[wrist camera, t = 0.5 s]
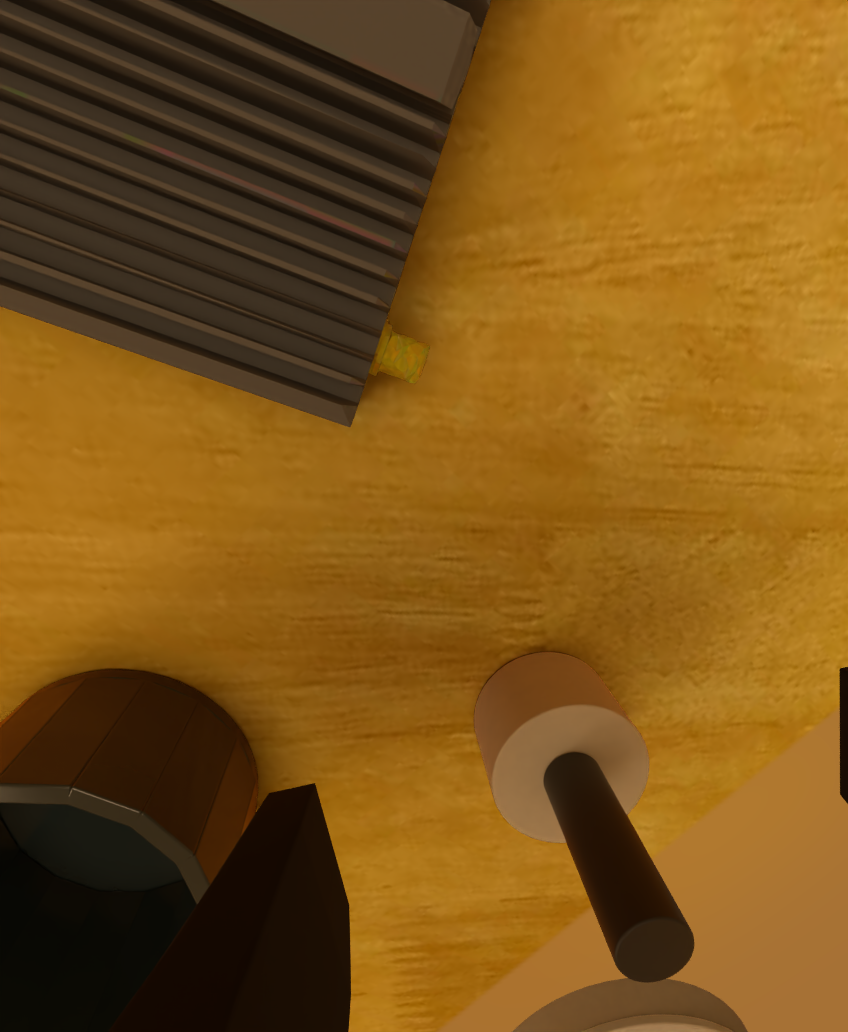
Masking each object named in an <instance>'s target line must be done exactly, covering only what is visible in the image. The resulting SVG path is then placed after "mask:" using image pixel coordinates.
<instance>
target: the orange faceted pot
mask: <svg viewBox="0 0 848 1032" xmlns="http://www.w3.org/2000/svg"><path fill="white" fill-rule="evenodd" d="M257 798H258V774H257V769H256V764H255V760H254V757H253V755H252V752H251V749H250V747H249V745H248V743H247V741H246V739H245V737H244V735H243V733H242V732H241V731H240V729H239V728H238V727H237V725H236V724H235V722H234V721H233V720H232V719H231V718H230V717H229V716H228V715H227V714H226V713H225V712H224V711H223V709H221V708H220V707H219V706H218V705H216V704H215V703H214V702H213V701H212V700H210V699H209V698H208V697H206V696H204V695H203V694H201V693H200V692H198V691H196V690H195V689H193V688H191V687H189V686H187V685H184V684H182V683H180V682H178V681H175V680H172V679H169V678H166V677H164V676H160V675H156V674H151V673H147V672H142V671H132V670H101V671H93V672H86V673H82V674H78V675H74V676H70V677H67V678H64V679H62V680H59V681H57V682H54V683H52V684H50V685H48V686H46V687H44V688H42V689H41V690H39V691H37V692H36V693H34V694H33V695H32V696H30V697H29V698H27V699H26V700H25V701H23V702H22V703H21V704H20V705H19V706H18V707H17V708H16V709H15V710H14V711H13V712H12V713H11V714H10V715H8V716H7V717H6V718H5V719H4V720H2V721H1V722H0V1032H108V1031H109V1030H110V1028H111V1027H112V1026H113V1024H114V1023H115V1021H116V1020H117V1019H118V1017H119V1016H120V1015H121V1013H122V1012H123V1010H124V1009H125V1008H126V1006H127V1005H128V1003H129V1002H130V1001H131V999H132V998H133V997H134V995H135V994H136V992H137V991H138V990H139V988H140V987H141V986H142V984H143V983H144V981H145V980H146V979H147V977H148V976H149V974H150V973H151V972H152V970H153V969H154V967H155V966H156V965H157V963H158V962H159V960H160V959H161V957H162V956H163V954H164V953H165V952H166V950H167V949H168V947H169V946H170V944H171V943H172V941H173V940H174V938H175V937H176V935H177V934H178V932H179V931H180V929H181V928H182V926H183V925H184V923H185V922H186V920H187V919H188V917H189V916H190V914H191V913H192V911H193V910H194V908H195V907H196V905H197V904H198V902H199V901H200V899H201V898H202V896H203V895H204V893H205V892H206V890H207V889H208V887H209V886H210V884H211V883H212V881H213V879H214V878H215V876H216V875H217V873H218V872H219V870H220V869H221V867H222V865H223V864H224V862H225V861H226V859H227V858H228V856H229V855H230V853H231V851H232V850H233V848H234V847H235V845H236V844H237V842H238V840H239V839H240V837H241V836H242V834H243V832H244V831H245V829H246V828H247V826H248V825H249V823H250V821H251V820H252V818H253V817H254V815H255V809H256V805H257Z"/></svg>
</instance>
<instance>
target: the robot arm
mask: <svg viewBox="0 0 848 1032" xmlns="http://www.w3.org/2000/svg"><path fill="white" fill-rule="evenodd" d="M840 795H841V796H842V797H843V798H844V800H845V801H846V802H847V803H848V667H845V668H840ZM350 1000H351V964H350V920H349V903H348V899H347V896H346V892H345V889H344V885H343V882H342V878H341V874H340V871H339V867H338V864H337V860H336V857H335V853H334V849H333V846H332V842H331V839H330V835H329V832H328V828H327V825H326V821H325V817H324V814H323V810H322V807H321V803H320V800H319V796H318V793H317V789H316V785H315V783H314V784H309V785H305V786H300V787H295V788H291V789H286V790H282V791H277V792H272V793H269V794H268V796H267V797H266V799H265V800H264V802H263V803H262V805H261V806H260V808H259V809H258V811H257V812H256V814H255V815H254V817H253V818H252V820H251V821H250V823H249V825H248V826H247V828H246V829H245V831H244V832H243V834H242V836H241V837H240V839H239V840H238V842H237V844H236V845H235V847H234V848H233V850H232V851H231V853H230V855H229V856H228V858H227V859H226V861H225V862H224V864H223V865H222V867H221V869H220V870H219V872H218V873H217V875H216V876H215V878H214V879H213V881H212V883H211V884H210V886H209V887H208V889H207V890H206V892H205V893H204V895H203V896H202V898H201V899H200V901H199V902H198V904H197V905H196V907H195V908H194V910H193V911H192V913H191V914H190V916H189V917H188V919H187V920H186V922H185V923H184V925H183V926H182V928H181V929H180V931H179V932H178V934H177V935H176V937H175V938H174V940H173V941H172V943H171V944H170V946H169V947H168V949H167V950H166V952H165V953H164V954H163V956H162V957H161V959H160V960H159V962H158V963H157V965H156V966H155V967H154V969H153V970H152V972H151V973H150V974H149V976H148V977H147V979H146V980H145V981H144V983H143V984H142V986H141V987H140V988H139V990H138V991H137V992H136V994H135V995H134V997H133V998H132V999H131V1001H130V1002H129V1003H128V1005H127V1006H126V1008H125V1009H124V1010H123V1012H122V1013H121V1015H120V1016H119V1017H118V1019H117V1020H116V1021H115V1023H114V1024H113V1026H112V1027H111V1028H110V1030H109V1031H108V1032H348V1029H349V1015H350Z"/></svg>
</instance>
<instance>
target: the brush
mask: <svg viewBox="0 0 848 1032" xmlns="http://www.w3.org/2000/svg"><path fill="white" fill-rule="evenodd" d="M474 728H475V732H476V736H477V740H478V743H479V747H480V750H481V754H482V758H483V761H484V765H485V768H486V772H487V776H488V779H489V783H490V786H491V790H492V794H493V797H494V800H495V803H496V805H497V808H498V809H499V811H500V813H501V814H502V816H503V817H504V818H505V819H506V820H507V822H508V823H509V824H511V825H512V826H513V827H514V828H515V829H517V830H518V831H520V832H521V833H523V834H525V835H527V836H529V837H531V838H534V839H537V840H541V841H546V842H554V843H567V845H568V848H569V850H570V853H571V855H572V857H573V860H574V862H575V865H576V867H577V870H578V872H579V875H580V877H581V880H582V882H583V885H584V887H585V890H586V892H587V895H588V897H589V900H590V902H591V905H592V907H593V910H594V912H595V915H596V917H597V919H598V922H599V925H600V927H601V929H602V932H603V934H604V937H605V939H606V942H607V944H608V947H609V949H610V952H611V954H612V957H613V959H614V962H615V964H616V966H617V968H618V969H619V970H620V972H622V974H624V975H625V976H626V977H628V978H629V979H632V980H634V981H638V982H656V981H660V980H664V979H666V978H668V977H671V976H673V975H674V974H676V973H677V972H679V971H680V970H681V969H682V968H683V967H684V966H685V965H686V964H687V962H688V961H689V960H690V958H691V956H692V953H693V949H694V937H693V933H692V931H691V929H690V927H689V925H688V924H687V922H686V920H685V918H684V917H683V915H682V913H681V911H680V909H679V908H678V906H677V904H676V902H675V901H674V899H673V897H672V895H671V893H670V891H669V890H668V888H667V886H666V884H665V883H664V881H663V879H662V877H661V875H660V874H659V872H658V870H657V868H656V867H655V865H654V863H653V861H652V859H651V858H650V856H649V854H648V852H647V850H646V849H645V847H644V845H643V843H642V841H641V840H640V838H639V836H638V834H637V832H636V831H635V829H634V827H633V825H632V824H631V822H630V820H629V818H628V816H627V815H628V814H629V813H630V811H631V810H632V809H633V808H634V806H635V805H636V804H637V802H638V800H639V799H640V797H641V795H642V793H643V791H644V789H645V786H646V783H647V779H648V773H649V757H648V751H647V747H646V744H645V742H644V740H643V738H642V736H641V734H640V733H639V731H638V730H637V728H636V727H635V726H634V724H633V723H632V721H631V720H630V719H629V717H628V716H627V714H626V713H625V712H624V710H623V709H622V707H621V706H620V705H619V703H618V702H617V700H616V699H615V698H614V696H613V695H612V693H611V692H610V691H609V689H608V688H607V687H606V685H605V684H604V682H603V681H602V680H601V678H600V677H599V675H598V674H597V673H596V672H595V671H594V670H593V669H592V668H591V667H590V666H589V665H587V664H586V663H585V662H583V661H581V660H579V659H578V658H575V657H573V656H570V655H566V654H562V653H555V652H541V653H534V654H530V655H526V656H523V657H520V658H517V659H515V660H513V661H511V662H510V663H508V664H506V665H505V666H503V667H502V668H501V669H499V670H498V671H497V672H496V673H495V674H494V675H493V676H492V677H491V678H490V679H489V680H488V682H487V683H486V684H485V686H484V687H483V689H482V691H481V693H480V695H479V697H478V700H477V703H476V707H475V711H474Z"/></svg>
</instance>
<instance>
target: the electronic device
mask: <svg viewBox="0 0 848 1032" xmlns="http://www.w3.org/2000/svg"><path fill="white" fill-rule="evenodd" d="M490 2H491V0H0V306H1V307H4V308H7V309H10V310H13V311H16V312H18V313H21V314H24V315H27V316H30V317H33V318H36V319H39V320H42V321H44V322H47V323H50V324H53V325H56V326H59V327H62V328H65V329H68V330H70V331H73V332H76V333H79V334H82V335H85V336H88V337H91V338H94V339H96V340H99V341H102V342H105V343H108V344H111V345H114V346H117V347H120V348H122V349H125V350H128V351H131V352H134V353H137V354H140V355H143V356H146V357H148V358H151V359H154V360H157V361H160V362H163V363H166V364H169V365H172V366H174V367H177V368H180V369H183V370H186V371H189V372H192V373H195V374H197V375H200V376H203V377H206V378H209V379H212V380H215V381H218V382H221V383H223V384H226V385H229V386H232V387H235V388H238V389H241V390H244V391H247V392H249V393H252V394H255V395H258V396H261V397H264V398H267V399H270V400H273V401H275V402H278V403H281V404H284V405H287V406H290V407H293V408H296V409H299V410H301V411H304V412H307V413H310V414H313V415H316V416H319V417H322V418H325V419H327V420H330V421H333V422H336V423H339V424H342V425H345V426H348V427H350V426H351V424H352V421H353V419H354V416H355V413H356V410H357V407H358V404H359V401H360V398H361V394H362V391H363V388H364V386H365V383H366V379H367V376H368V373H369V374H372V375H374V376H376V375H377V373H378V371H380V372H384V373H386V374H388V375H391V376H396V377H398V378H400V379H403V380H405V381H407V382H410V383H414V384H415V383H416V382H417V380H418V379H419V378H420V376H421V373H422V371H423V368H424V365H425V362H426V359H427V356H428V352H429V349H430V346H429V345H427V344H426V343H420V342H417V341H416V340H415V339H413V338H410V337H407V336H406V335H402V334H397V333H395V332H394V331H392V327H393V326H392V325H390V324H388V322H389V321H388V320H386V319H387V316H388V312H389V310H390V306H391V303H392V300H393V298H394V295H395V292H396V289H397V286H398V283H399V280H400V277H401V273H402V270H403V267H404V264H405V261H406V258H407V255H408V252H409V249H410V246H411V243H412V240H413V236H414V233H415V230H416V228H417V226H418V225H417V224H418V221H419V218H420V215H421V212H422V209H423V206H424V203H425V201H426V198H427V194H428V191H429V188H430V185H431V182H432V179H433V176H434V173H435V171H436V166H437V163H438V160H439V157H440V154H441V151H442V148H443V145H444V143H445V140H446V136H447V133H448V130H449V127H450V124H451V121H452V118H453V115H454V112H455V109H456V106H457V103H458V100H459V97H460V94H461V91H462V88H463V84H464V81H465V78H466V75H467V72H468V69H469V66H470V63H471V60H472V57H473V54H474V51H475V48H476V45H477V42H478V39H479V36H480V33H481V30H482V27H483V23H484V20H485V17H486V14H487V12H488V9H489V5H490Z"/></svg>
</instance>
